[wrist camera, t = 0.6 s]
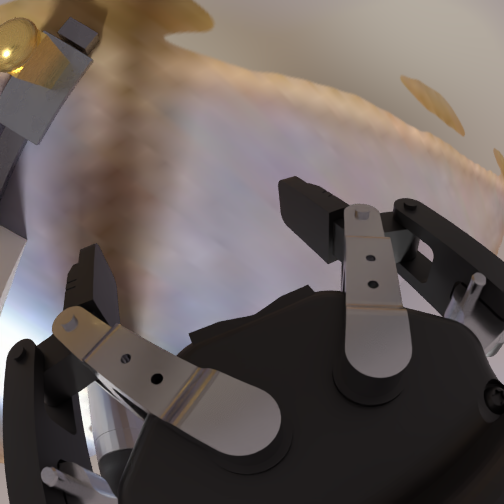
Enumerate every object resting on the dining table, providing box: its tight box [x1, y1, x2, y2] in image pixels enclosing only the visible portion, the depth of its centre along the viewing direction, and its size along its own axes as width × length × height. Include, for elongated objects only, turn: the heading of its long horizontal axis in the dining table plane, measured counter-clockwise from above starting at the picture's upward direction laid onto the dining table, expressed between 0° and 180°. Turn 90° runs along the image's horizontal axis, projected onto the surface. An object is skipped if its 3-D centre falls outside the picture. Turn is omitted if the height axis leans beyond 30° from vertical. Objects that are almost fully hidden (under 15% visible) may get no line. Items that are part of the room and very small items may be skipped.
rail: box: [0, 17, 99, 200], centre depth 22 cm, size 26×4×4 cm, turn 139°
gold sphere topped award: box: [0, 17, 93, 145], centre depth 16 cm, size 10×7×18 cm
